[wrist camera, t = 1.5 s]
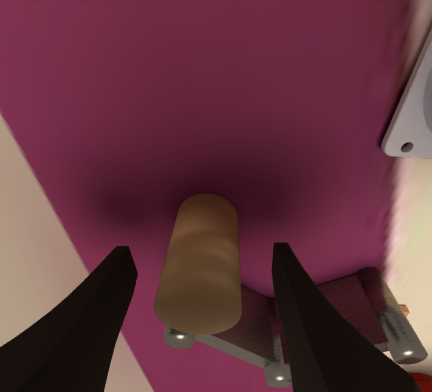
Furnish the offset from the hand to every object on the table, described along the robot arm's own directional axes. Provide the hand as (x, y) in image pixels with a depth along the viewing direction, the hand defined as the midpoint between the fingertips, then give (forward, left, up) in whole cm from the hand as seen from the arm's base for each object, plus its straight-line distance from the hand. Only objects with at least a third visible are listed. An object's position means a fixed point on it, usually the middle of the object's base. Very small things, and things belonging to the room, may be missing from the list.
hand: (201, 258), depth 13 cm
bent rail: (-5, +6, -3) cm, 8 cm away
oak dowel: (0, 0, -3) cm, 3 cm away
